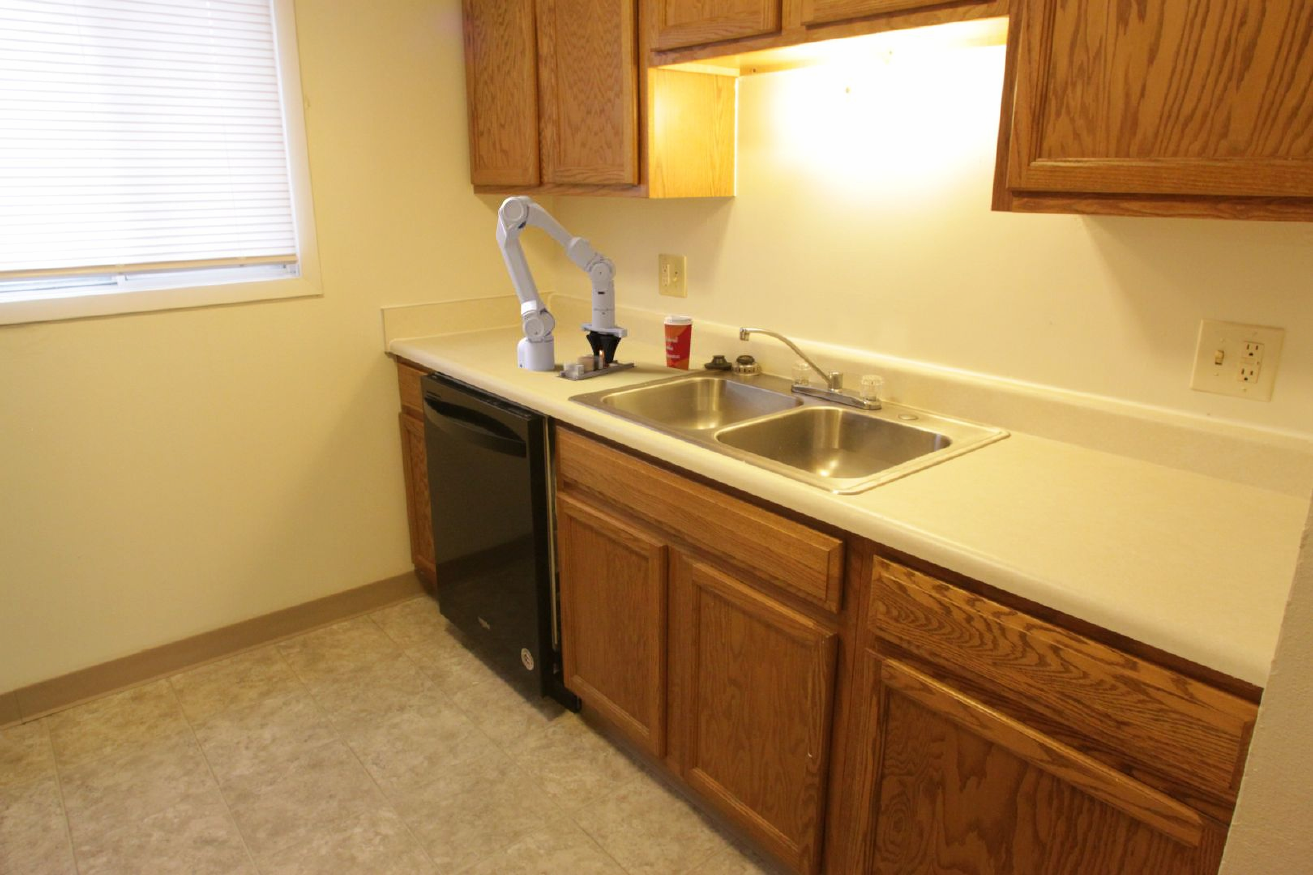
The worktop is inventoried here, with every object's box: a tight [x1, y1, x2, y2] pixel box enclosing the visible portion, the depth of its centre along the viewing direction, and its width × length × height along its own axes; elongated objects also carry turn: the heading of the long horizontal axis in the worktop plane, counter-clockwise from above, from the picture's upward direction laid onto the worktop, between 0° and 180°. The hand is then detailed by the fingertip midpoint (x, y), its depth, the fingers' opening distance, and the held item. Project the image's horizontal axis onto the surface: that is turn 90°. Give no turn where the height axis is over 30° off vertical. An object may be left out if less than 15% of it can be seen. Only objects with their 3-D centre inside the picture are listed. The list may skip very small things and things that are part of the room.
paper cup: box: [662, 315, 694, 372], centre depth 226 cm, size 8×8×14 cm
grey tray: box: [555, 359, 638, 382], centre depth 221 cm, size 7×22×4 cm, turn 138°
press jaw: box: [586, 349, 619, 371], centre depth 222 cm, size 4×7×5 cm, turn 138°
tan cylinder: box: [576, 356, 594, 373], centre depth 218 cm, size 4×4×4 cm
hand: (604, 362), depth 222 cm, fingers closed on press jaw, 3 cm apart
